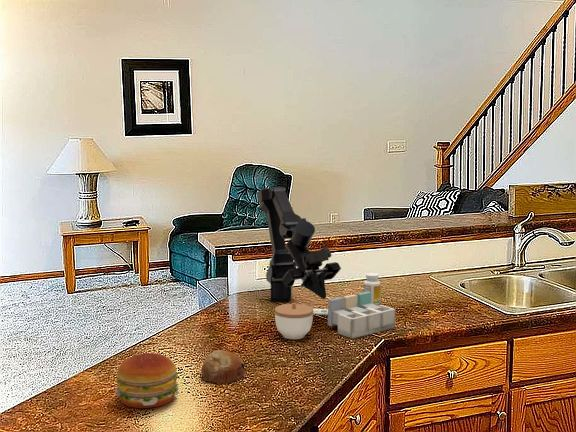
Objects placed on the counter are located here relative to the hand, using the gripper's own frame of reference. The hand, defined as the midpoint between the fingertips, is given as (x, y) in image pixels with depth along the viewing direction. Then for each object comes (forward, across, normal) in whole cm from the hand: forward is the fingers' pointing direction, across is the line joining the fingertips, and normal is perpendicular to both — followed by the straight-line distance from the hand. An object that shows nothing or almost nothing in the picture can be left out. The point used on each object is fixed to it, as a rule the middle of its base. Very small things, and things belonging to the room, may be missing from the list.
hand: (324, 297), depth 207 cm
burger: (+20, -66, -7) cm, 69 cm away
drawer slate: (+10, 0, 0) cm, 10 cm away
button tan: (+10, +6, 0) cm, 12 cm away
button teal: (+10, +11, 0) cm, 15 cm away
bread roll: (+18, -46, -6) cm, 49 cm away
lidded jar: (+8, -14, +3) cm, 17 cm away
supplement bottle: (0, +27, +11) cm, 29 cm away
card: (-2, +6, +13) cm, 14 cm away
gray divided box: (+14, +6, -3) cm, 15 cm away
